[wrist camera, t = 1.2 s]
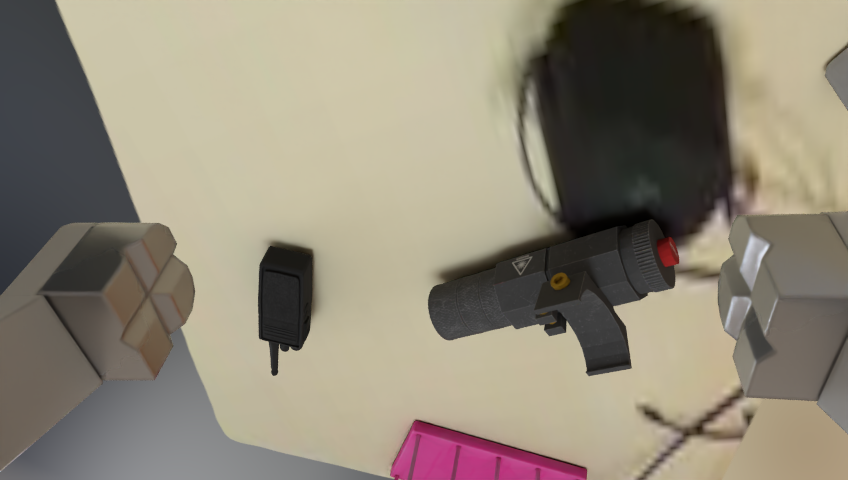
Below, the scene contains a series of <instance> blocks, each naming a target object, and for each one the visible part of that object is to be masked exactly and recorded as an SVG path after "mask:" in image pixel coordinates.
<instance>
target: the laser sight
mask: <svg viewBox="0 0 848 480" xmlns="http://www.w3.org/2000/svg"><path fill="white" fill-rule="evenodd" d="M676 264H679V255H678V251H677V248H676V245H675V243H674V241H673V239H672V238H671V237H667V238H665V237H664V235H663V233H662V231H661V229H660V227H659V226H658V224H657V223H656V222H655V221H654V220H652V219H651V220H647V221H644V222H641V223H637V224H635V225H634V226H632V227H629V228H627V227H626V225H623V226H618V227H614V228H611V229H608V230H604V231H601V232H598V233H594V234H591V235H588V236H585V237H581V238H578V239H575V240H571V241H568V242H565V243H562V244H558V245H555V246H552V247H548V248H545V249H542V250H539V251H535V252H532V253H529V254H525V255H522V256H519V257H516V258H512V259H509V260H506V261H502V262H499V263H497V264H496V268H494V269H490V270H486V271H483V272H480V273H477V274H474V275H470V276H466V277H463V278H460V279H457V280H454V281H450V282H447V283H444V284H440V285H436V286H434V287H433V288H432V290H431V292H430V294H429V299H428V309H429V314H430V318H431V321H432V324H433V326H434V328H435V329H436V331H437V332H438V334H439V335H440V336H441V337H442V338H444V339H446V340H454V339H457V338H461V337H465V336H470V335H474V334H479V333H483V332H486V331H490V330H495V329H500V328H504V327H507V326H511V325H513V326H514V328H515V329H519V328H523V327H528V326H532V325H536V324H539V325H544V324H545V327H544V331H545V332H546V333H547V334H548V335H549V336H552V335H557V334H561V333H566V321H568V323H569V324H570V326H571V328H572V329H573V331H574V332H575V334H576V336H577V338H578V340H579V342H580V345H581V347H582V350H583V353H584V357H585V361H586V367H587V371H586V373H587V374H588V376H592V375H598V374H603V373H609V372H614V371H620V370H626V369H631V368H632V367H631V360H630V353H629V346H628V339H627V331H626V326H625V325H624V323H623V322H622V321H621V319H620V318H619V317H618V315H617V314H616V313H615V311H614V308H613V306H616V305H621V304H625V303H629V302H633V301H638V300H641V299H642V298H644V297H646V296H648V293H649V292H659V291H664V290H668V289H672V288H674V286H675V270H674V265H676Z"/></svg>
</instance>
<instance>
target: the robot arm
mask: <svg viewBox="0 0 848 480" xmlns="http://www.w3.org/2000/svg"><path fill="white" fill-rule="evenodd" d="M728 239H729V242H730V245H731V248H732V251H733V253H734V255H732V256H731V257H730V258H729V259H728V260H726V261H725V262H724V263H723V264H722V267H721V272H720V277H719V281H718V305H719V312H720V317H721V321H722V324H723V328H724V331H725V332H727V333H728V334H729V335H730V336H732V337H733V338H734V339H735V340H737V343H736V346H735V350H734V353H733V360H734V363H735V366H736V369H737V372H738V375H739V378H740V381H741V385H742V388H743V391H744V394H745V397H749V398H769V399H788V400H807V401H818V402H817V405H818V406H819V407H820V408H821V409H822V410H823V411H824V412H825V413H827V415H828V416H830V418H832V419H833V420H834V421H835V422H836V423H837V424H838V425H839V426H840V427H841V428H842V429H843V430H844V431H845V432H846V433H847V434H848V211H845V212H821V213H820V214H773V215H737V217H736V218H735V220H734V222H733V224H732V227H731V231H730V234H729V238H728ZM176 245H177V243H176V241H175V239H174V237H173V235H172V233H171V231H170V229H169V227H167V226H164V225H162V224H160V223H71V224H69V225H65V226H62V227H61V228H60V229H59V230H58V231H57V232H56V233H55V235H54V236H53V237H52V238H51V239H50V240H49V241H48V243H47V244H46V245H45V246H44V247H43V248H42V249H41V251H40V252H39V253H38V254H37V255H36V256H35V257H34V258H33V260H32V261H31V262H30V263H29V264H28V265H27V266H26V268H25V269H24V270H23V271H22V272H21V273H20V274H19V276H18V277H17V278H16V279H15V280H14V281H13V282H12V284H11V285H10V286H9V287H8V288H7V289H6V290H5V291H4V293H3V294H2V295H0V472H1V471H2V470H3V469H4V468H5V467H6V466H7V465H9V464H10V463H11V462H12V461H13V460H14V459H16V458H17V457H18V456H19V455H20V454H21V453H23V452H24V451H25V450H26V449H27V448H28V447H30V446H31V445H32V444H33V443H34V442H35V441H37V440H38V439H39V438H40V437H41V436H42V435H43V434H45V433H46V432H47V431H48V430H49V429H50V428H52V427H53V426H54V425H55V424H56V423H57V422H59V421H60V420H61V419H62V418H63V417H64V416H65V415H67V414H68V413H69V412H70V411H71V410H72V409H74V408H75V407H76V406H77V405H78V404H79V403H81V402H82V401H83V400H84V399H85V398H86V397H88V396H89V395H90V394H91V393H92V392H93V391H95V390H96V389H97V388H98V387H99V386H100V385H102V384H103V381H102V380H155V379H156V377H157V375H158V373H159V371H160V369H161V367H162V366H163V364H164V362H165V360H166V358H167V357H168V355H169V353H170V351H171V349H172V347H173V343H172V340H171V336H170V334H171V333H173V332H174V331H176V330H177V329H179V328H180V327H181V326H183V325H184V324H185V323H186V321H187V319H188V317H189V315H190V313H191V311H192V309H193V302H194V295H195V288H194V282H193V277H192V275H191V273H190V270H189V268H188V266H187V265H186V264H185V263H183V262H182V261H181V260H179V259H178V258H177V257H176V256H174V255H173V253H174V251H175V248H176Z"/></svg>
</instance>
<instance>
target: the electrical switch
mask: <svg viewBox="0 0 848 480" xmlns="http://www.w3.org/2000/svg"><path fill="white" fill-rule="evenodd" d="M825 77H826V78H827V80H828V81H829V83H830V84H831V86H832V87H833V89H834V90H835V92H836V94H837V95H838V97H839V98H840V100H841V101H842V103H843V104H844V106H845V107H846V109H847V110H848V47H847V48H846V49H845V50H844V51H843V52H842V53H841V54H839V55H838V56H837V57H836V58H835V59H834V60H832V61H831V62H830V63H829V65H828V66H827V68H826V73H825Z"/></svg>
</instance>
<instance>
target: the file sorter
mask: <svg viewBox="0 0 848 480" xmlns="http://www.w3.org/2000/svg"><path fill="white" fill-rule="evenodd" d="M390 476H391V477H395V479H394V480H398V479H402V480H586V479H587V470H586V469H584V468H580V467H577V466H573V465H570V464H566V463H563V462H559V461H556V460H552V459H549V458H546V457H542V456H539V455H535V454H532V453H528V452H525V451H521V450H518V449H514V448H511V447H507V446H504V445H500V444H497V443H493V442H490V441H486V440H483V439H479V438H476V437H472V436H469V435H465V434H462V433H458V432H455V431H451V430H447V429H444V428H440V427H437V426H433V425H430V424H426V423H423V422H419V421H415V422H414V424H413V426H412V428H411V430H410V432H409V434H408V436H407V438H406V440H405V442H404V444H403V446H402V448H401V450H400V452H399V454H398V456H397V458H396V460H395V461H394V464H393V465H392V469H391V474H390Z"/></svg>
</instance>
